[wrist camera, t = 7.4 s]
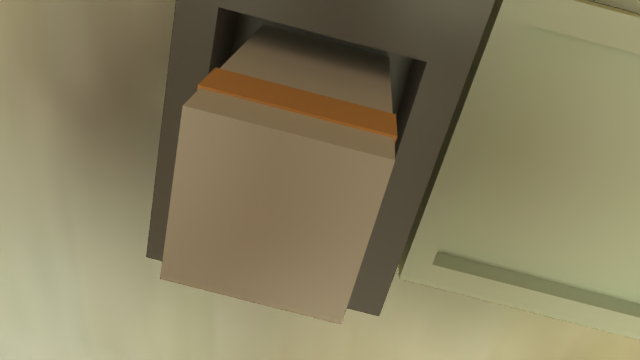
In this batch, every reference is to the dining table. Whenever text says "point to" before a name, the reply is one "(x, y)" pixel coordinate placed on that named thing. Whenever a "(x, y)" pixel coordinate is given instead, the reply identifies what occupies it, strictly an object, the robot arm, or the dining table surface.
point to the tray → (541, 170)
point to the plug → (282, 174)
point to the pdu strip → (354, 32)
